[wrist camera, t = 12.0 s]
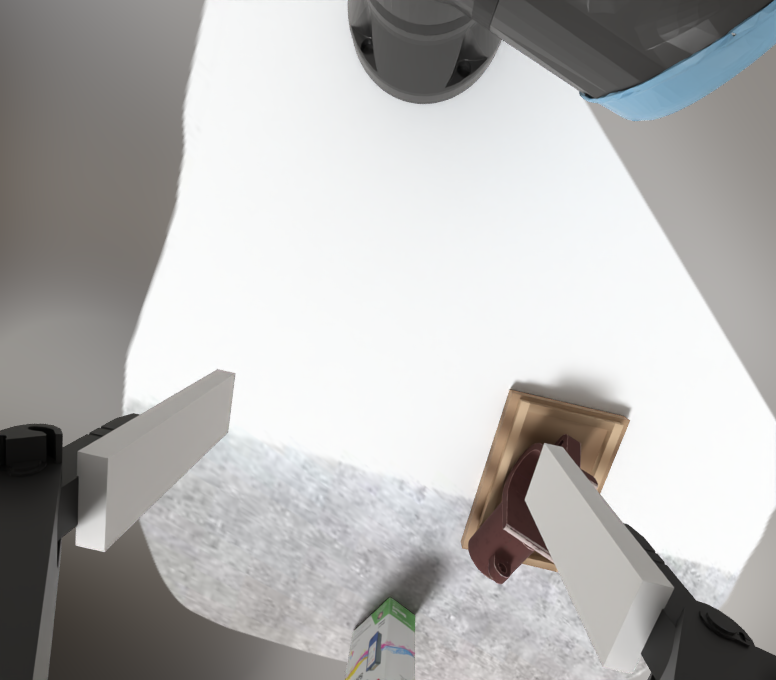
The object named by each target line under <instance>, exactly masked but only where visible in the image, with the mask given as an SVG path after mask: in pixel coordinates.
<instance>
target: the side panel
mask: <svg viewBox="0 0 776 680" xmlns="http://www.w3.org/2000/svg"><path fill="white" fill-rule="evenodd" d="M629 422H630V420H629V419H627V418H626V417H625V416H621V415H617V414H613V413H608V412H604V411H600V410H596V409H591V408H587V407H583V406H579V405H574V404H570V403H566V402H562V401H557V400H553V399H549V398H545V397H540V396H536V395H532V394H528V393H523V392H519V391H515V390H511V389H510V390H509V393H508V397H507V400H506V403H505V406H504V409H503V412H502V415H501V418H500V421H499V425H498V428H497V431H496V434H495V437H494V440H493V443H492V446H491V449H490V453H489V456H488V459H487V462H486V465H485V468H484V471H483V474H482V477H481V481H480V484H479V487H478V490H477V493H476V496H475V499H474V502H473V505H472V509H471V512H470V515H469V518H468V521H467V524H466V527H465V530H464V533H463V536H462V540H461V544H462V548H464V549H468V542H469V540H470V538H471V537H472V536H473V535H474V533H475V532H476V531H477V530H478V529H479V528H480V526H481V525H482V524H483V523H484V522H485V521H486V520H487V518H488V517H489V516H490V515H491V514H492V513H493V511H494V510H495V509H496V508H497V507H498V506H499V504H500V503H501V502H502V494H503V489H504V486H505V483H506V480H507V478H508V476H509V474H510V472H511V470H512V468H513V466H514V465H515V463H516V462H517V460H518V459H519V457H520V456H521V455H522V454H523V453H524V452H525V450H527V449H528V448H529V447H530V446H531V445H533V444H535V443H541V444H542V445H544V443H547V444H551V445H554V444H555V443H556V442H557V440H558V439H559V438H560V437H561V436H562V435H564V434H567V435H569V436H570V437H572V438H574V439H575V440H577V441H579V442H580V443H581V469H582V470H584V471H585V472H587V473H589V474H590V475H592V476H593V477H594V478H595V479H596V480H597V483H598V488H597V489H596V490H597V491H598V492H599V494H600V493H601V490H602V488H603V485H604V483H605V480H606V478H607V476H608V473H609V471H610V468H611V466H612V463H613V461H614V458H615V456H616V454H617V451H618V449H619V446H620V444H621V441H622V439H623V436H624V434H625V432H626V429H627V427H628V424H629ZM522 564H526V565H530V566H534V567H538V568H543V569H547V570H551V571H555V572H558V570H557V568H556V566H555V564H554V563H553V562H552V561H550V560H549V559H547V558H546V557H544V556H543V555H541V554H540V553H538V552H537V551H534V552H533V553H532V554H531V555H530V556H529V557H528V558H527V559H526V560H525V561H524V562H523V563H522Z"/></svg>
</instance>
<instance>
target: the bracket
mask: <svg viewBox="0 0 776 680" xmlns="http://www.w3.org/2000/svg"><path fill="white" fill-rule="evenodd" d="M554 445H556V446H560V447H563V448H564V449H565V451H566V452H567V453H568V455H569V456H570V457H571V458H572V460H573V461H574V462H575V463H576V465H577V466H578V467H579V468H580V470H581V471H582V472H583V473H584V475H585V476H586V477H587V478H588V480H589V481H590V482H591V483H592V485H593V486H594V487H595V488H596V489H597V488H598V483H597V480H596V479H595V478H594V477H593V476H592V475H590V474H589V473H587V472H585V471H584V470H582V469H581V443H580V442H579V441H577V440H575V439H574V438H572V437H570V436H569V435H567V434H564V435H562V436H561V437H560V438H559V439H558V440H557V442H556V443H555V444H554ZM543 446H544V445H542V444H541V443H535V444H533V445H531V446H530V447H529V448H528V449H527V450H525V452H524V453H523V454H522V455H521V456H520V457H519V459H518V460H517V462H516V463H515V465H514V466H513V468H512V470H511V472H510V474H509V476H508V478H507V480H506V483H505V486H504V489H503V494H502V502H501V503H500V504H499V506H498V507H497V508H496V509H495V510H494V511H493V513H492V514H491V515H490V516H489V517H488V518H487V520H486V521H485V522H484V523H483V524H482V525H481V526H480V528H479V529H478V530H477V531H476V532H475V533H474V535H473V536H472V537H471V538H470V540H469V542H468V550H469V554H470V556H471V559H472V560H473V562H474V564H475V565H476V567H477V568H478V569H479V570H480V571H481V572H482V573H483V574H484V575H485V576H487V577H488V578H490V579H492V580H494V581H495V582H496V583H498V584H503V583H504V582H505V581H506V580H507V579H508V578H509V577H510V575H511V574H512V573H513V572H514V571H515V570H516V569H517V568H518V567H519V566H520V565H521V564H522V563H523V562H524V561H525V560H526V559H527V558H528V557H529V556H530V555H531V554H532V553H533V552H534V551H537V552H538V553H540V554H541V555H543V556H544V557H546V558H547V559H549V560H550V561H552V562H553V559H552V557H551V555H550V553H549V551H548V549H547V547H546V544H545V542H544V540H543V538H542V536H541V534H540V532H539V529H538V527H537V525H536V523H535V521H534V519H533V517H532V514H531V512H530V510H529V508H528V506H527V504H526V502H525V497H526V495H527V492H528V489H529V486H530V483H531V480H532V477H533V474H534V471H535V469H536V466H537V463H538V460H539V457H540V454H541V451H542V448H543ZM553 563H554V562H553Z"/></svg>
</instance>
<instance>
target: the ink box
mask: <svg viewBox="0 0 776 680" xmlns="http://www.w3.org/2000/svg"><path fill="white" fill-rule="evenodd" d="M345 680H415V615H414V614H412V613H411V612H410V611H408V610H407V609H406V608H404V607H403V606H402V605H400V604H399V603H398V602H396V601H395V600H394V599H392V598H391V597H389V598H388V599H387V600H386V601H385V602H384V603H383V604H382V605H381V606H380V607H379V608H378V609H377V610H376V611H375V612H374V613H373V614H371V615H370V616H369V617H368V618H367V619H366V620H365V621H364V622H363V623H362V624H361V625H360V626H359V627H358V628H357V629H356V630H354V631H353V633H352V639H351V645H350V651H349V657H348V663H347V669H346V675H345Z"/></svg>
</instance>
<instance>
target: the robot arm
mask: <svg viewBox="0 0 776 680" xmlns="http://www.w3.org/2000/svg"><path fill="white" fill-rule="evenodd" d="M348 19H349V26H350V31H351V35H352V39H353V43H354V46H355V50H356V53H357V55H358V58H359V60H360V62H361V64H362V66H363V67H364V69H365V71H366V72H367V74H368V75H369V76H370V78H371V79H372V80H373V81H374V82H375V83H376V84H377V85H378V86H379V87H380V88H381V89H383V90H384V91H385V92H387V93H388V94H390V95H392V96H393V97H396V98H398V99H400V100H403V101H406V102H411V103H417V104H431V103H437V102H441V101H445V100H448V99H450V98H453V97H455V96H457V95H459V94H460V93H462V92H463V91H465V90H466V89H468V88H469V87H470V86H471V85H473V84H474V83H475V82H476V81H477V80H478V79H479V78H480V77H481V75H482V74H483V73H484V72H485V70H486V69H487V67H488V66H489V64H490V63H491V61H492V59H493V57H494V55H495V53H496V51H497V49H498V46H499V44H500V42H501V39H502V40H503V41H505V42H506V43H508V44H509V45H511V46H512V47H514V48H515V49H517V50H518V51H520V52H521V53H523V54H524V55H526V56H527V57H529V58H530V59H532V60H533V61H535V62H536V63H538V64H539V65H541V66H542V67H544V68H545V69H547V70H549V71H550V72H552V73H553V74H555V75H556V76H558V77H559V78H561V79H562V80H564V81H565V82H567V83H568V84H570V85H571V86H573V87H574V88H576V89H577V90H579V93H580V96H581V97H582V98H583V99H585V100H586V101H589V102H593V103H599V104H601V105H602V106H604V107H606V108H608V109H609V110H611V111H613V112H614V113H616V114H618V115H619V116H621V117H623V118H625V119H628V120H632V121H639V120H654V119H658V118H662V117H664V116H667V115H670V114H673V113H675V112H677V111H679V110H681V109H683V108H685V107H687V106H689V105H691V104H693V103H694V102H696V101H698V100H700V99H701V98H703V97H705V96H706V95H708V94H709V93H711V92H712V91H714V90H716V89H717V88H719V87H720V86H721V85H723V84H724V83H726V82H727V81H729V80H730V79H732V78H733V77H734V76H736V75H737V74H738V73H740V72H741V71H742V70H744V69H745V68H746V67H748V66H749V65H750V64H752V63H753V62H754V61H755V60H757V59H758V58H759V57H760V56H762V55H763V54H764V53H765V52H766V51H768V50H769V49H770V48H771V47H773V45H775V44H776V0H348ZM234 380H235V373H232V372H227V371H223V370H218V369H217V370H215V371H214V372H212V373H210V374H209V375H207V376H205V377H203V378H202V379H200V380H198V381H197V382H195V383H193V384H192V385H190V386H188V387H186V388H185V389H183V390H181V391H180V392H178V393H176V394H175V395H173V396H171V397H169V398H168V399H166V400H164V401H163V402H161V403H159V404H157V405H156V406H154V407H152V408H151V409H149V410H147V411H146V412H144V413H142V414H140V415H139V414H134V413H133V414H129V415H126V416H123V417H119V418H116V419H114V420H112V421H110V422H108V423H106V424H105V425H103V426H102V427H101V428H97V429H96V430H94V431H92V432H90V434H89V435H85V436H83V437H81V438H79V439H77V440H76V441H74V442H72V443H70V444H68V445H67V446H65V447H63V448H62V437H63V436H62V431H61V429H60V428H57V427H55V426H54V425H47V424H27V425H20V426H14V427H11V428H7V429H4V430H1V431H0V680H48V672H49V662H50V652H51V642H52V634H53V625H54V614H55V605H56V596H57V587H58V577H59V568H60V558H61V549H62V537H63V536H65V535H66V534H67V533H68V532H70V531H71V530H72V529H73V528H75V527H76V545H77V546H81V547H85V548H90V549H94V550H98V551H103V552H105V551H106V550H107V549H108V548H109V547H110V546H111V545H112V544H113V543H114V542H115V541H116V540H117V539H118V538H119V537H120V536H121V535H122V534H123V533H124V532H125V531H126V530H128V529H129V528H130V527H131V526H132V525H133V524H134V523H135V522H136V521H137V520H138V519H139V518H140V517H141V516H142V515H143V514H144V513H145V512H146V511H147V510H148V509H149V508H150V507H151V506H152V505H153V504H154V503H156V502H157V501H158V500H159V499H160V498H161V497H162V496H163V495H164V494H165V493H166V492H167V491H168V490H169V489H170V488H171V487H172V486H173V485H174V484H175V483H176V482H177V481H178V480H179V479H180V478H181V477H182V476H183V475H185V474H186V473H187V472H188V471H189V470H190V469H191V468H192V467H193V466H194V465H195V464H196V463H197V462H198V461H199V460H200V459H201V458H202V457H203V456H204V455H205V454H206V453H207V452H208V451H209V450H210V449H211V448H212V447H213V446H215V445H216V444H217V443H218V442H219V441H220V440H221V439H222V438H223V437H224V436H225V435H226V434H227V433H228V429H229V421H230V413H231V404H232V396H233V388H234ZM525 502H526V504H527V506H528V508H529V510H530V512H531V514H532V517H533V519H534V521H535V523H536V525H537V527H538V529H539V532H540V534H541V536H542V538H543V540H544V542H545V544H546V547H547V549H548V551H549V553H550V555H551V557H552V559H553V562H554V564H555V566H556V568H557V570H558V572H559V574H560V576H561V579H562V581H563V583H564V585H565V587H566V589H567V591H568V594H569V596H570V598H571V600H572V602H573V604H574V606H575V609H576V611H577V613H578V615H579V617H580V619H581V621H582V624H583V626H584V628H585V630H586V632H587V634H588V636H589V639H590V641H591V643H592V645H593V647H594V649H595V651H596V654H597V656H598V658H599V660H600V662H601V664H602V666H603V667H604V668H608V669H612V670H617V671H621V672H625V673H630V674H633V672H634V670H635V668H636V666H637V664H638V662H639V660H640V658H641V656H642V657H643V658H644V660H645V662H646V664H647V665H648V667H649V669H650V671H651V674H650V676H649V678H648V680H776V656H775V655H773V654H771V653H769V652H766V651H764V650H762V649H760V648H758V647H755V645H754V643H753V641H752V640H751V638H750V637H749V636H748V634H747V633H746V632H745V631H744V630H743V629H742V628H741V627H740V626H739V625H738V624H737V623H736V622H734V621H733V620H732V619H730V618H729V617H728V616H726V615H725V614H723V613H722V612H721V611H719V610H717V609H715V608H713V607H711V606H710V605H708V604H705V603H702V602H698V601H696V600H695V599H694V597H693V596H692V595H691V594H690V593H689V591H688V590H687V589H686V588H685V587H684V585H683V584H682V583H681V582H680V581H679V579H678V578H677V577H676V576H675V574H674V573H673V572H672V571H671V570H670V568H669V567H668V566H667V565H665V564H664V563H665V562H664V561H663V560H662V559H661V558H660V556H659V555H658V554H656V553H655V550H654V549H653V548H652V547H651V545H650V544H649V543H648V542H647V541H646V539H645V538H644V537H643V536H641V535H640V534H639V533H638V532H637V531H635V530H634V529H633V528H632V527H631V526H629V525H628V524H624V523H623V522H622V521H621V520H620V519H619V517H618V516H617V515H616V514H615V512H614V511H613V510H612V509H611V507H610V506H609V505H608V504H607V502H606V501H605V500H604V499H603V497H602V496H601V495H600V494H599V492H598V491H597V490H596V488H595V487H594V486H593V485H592V483H591V482H590V481H589V480H588V478H587V477H586V476H585V475H584V473H583V472H582V471H581V470H580V468H579V467H578V466H577V465H576V463H575V462H574V461H573V460H572V458H571V457H570V456H569V455H568V453H567V452H566V451H565V449H564V448H563V447H560V446H556V445H551V444H547V443H544V446H543V448H542V451H541V454H540V457H539V460H538V463H537V466H536V469H535V471H534V474H533V477H532V480H531V483H530V486H529V489H528V492H527V495H526V497H525Z"/></svg>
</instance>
